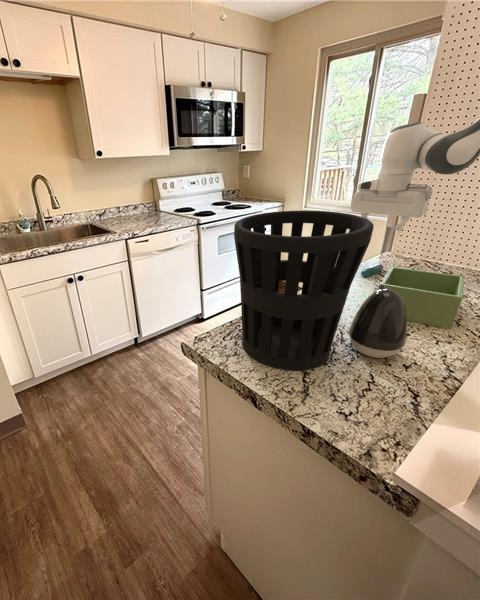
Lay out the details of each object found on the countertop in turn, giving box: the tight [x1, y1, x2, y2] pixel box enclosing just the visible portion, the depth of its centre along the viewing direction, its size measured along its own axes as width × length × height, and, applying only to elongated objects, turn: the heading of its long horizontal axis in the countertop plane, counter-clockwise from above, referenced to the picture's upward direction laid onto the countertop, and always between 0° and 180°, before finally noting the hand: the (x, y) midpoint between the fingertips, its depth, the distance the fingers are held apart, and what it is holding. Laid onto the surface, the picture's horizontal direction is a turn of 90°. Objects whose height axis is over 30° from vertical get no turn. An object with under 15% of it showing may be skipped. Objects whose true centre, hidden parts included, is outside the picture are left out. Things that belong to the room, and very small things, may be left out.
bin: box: [379, 266, 466, 330], centre depth 83 cm, size 16×16×9 cm
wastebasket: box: [233, 210, 375, 372], centre depth 69 cm, size 25×25×30 cm
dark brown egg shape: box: [348, 283, 408, 359], centre depth 67 cm, size 10×10×15 cm
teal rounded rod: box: [360, 263, 384, 278], centre depth 108 cm, size 11×2×2 cm, turn 120°
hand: (381, 228), depth 101 cm, fingers open, 8 cm apart
